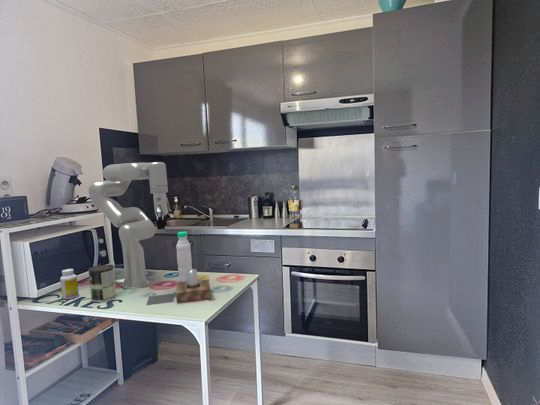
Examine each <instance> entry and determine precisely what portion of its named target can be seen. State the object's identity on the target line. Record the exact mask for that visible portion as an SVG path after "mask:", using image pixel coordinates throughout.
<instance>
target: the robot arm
mask: <svg viewBox="0 0 540 405" xmlns="http://www.w3.org/2000/svg"><path fill="white" fill-rule="evenodd" d="M102 176H103V178H104V179H105V180H98V181H94V182H92V183H90V185H89V186H88V195H89V198H90V200H91V203H93V205H94V206H95V207H96V208H97V209H98V210H100V211H101V212H102V213H103V214H104V215H105V217H106V218H107V220H109V222H111V224H112V225H113V226H114V227H116V228H117V229H118V228H119V229H118V236H119V240H120V243H121V248H122V258H123V266H124V278H122V279H121V278H119V279H116V280H115V284H118V285H121V284H122V289H123V290H134V289H135V290H136V289H141V288H146V287H148V286H150V284H151V282H150V280H148V279H147V274H146V262H145V251H144V247H143V246H142V245H141V243H140V241H142V240H147V239H151V238H152V237H154V235H156V234H155V232H156V228H157V230H164V229H166V226H167V225H168V224H167V215H168V213H169V210H168V201H167V194H166V193H168V192H169V190H168V176H167V166H166V163H164V162H162V161H155V162H154V161H153V162H126V163H115V164H113V163H112V164H109V165H106V166H105V167H104V168H103V170H102ZM137 180H138V181H139V180H149V191H150V195H151V194H153V207H154V214H155V216H156V228H155V225H154V223H153V222H152V220H151V219H150V218H149V217H148V216H147V215H146V213H145V212H143V210H142V209H140V208H139V207H136V206H131V207H122V206H121V204H119V202H118V201H117V200H115V199H113V198H111V197H118V196H119V197H120V196H123V195H124V194H125V193H126V191H127V189H128V187H129V185H130V184H131V182H132V181H137Z"/></svg>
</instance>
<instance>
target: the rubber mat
mask: <svg viewBox="0 0 540 405" xmlns="http://www.w3.org/2000/svg"><path fill="white" fill-rule="evenodd" d="M175 295H176V292H174V293H173V292H172V293H166V294H157V295H150V296H148V299H147V301H146V304H145V306H152V305H160V304H167V303H173V302H174V300H175Z"/></svg>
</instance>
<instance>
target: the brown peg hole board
mask: <svg viewBox="0 0 540 405" xmlns="http://www.w3.org/2000/svg"><path fill="white" fill-rule="evenodd" d="M211 294H212V293H211V284H210V279H209V278H208V279H200V280H198V287H196V288H189V286H188V282H177V285H176V292H175V295H176V296H175V298H176V304H177V305H178V304H183V303H191V302H199V301H206V300H208V301H209V302H210V301H212V295H211Z"/></svg>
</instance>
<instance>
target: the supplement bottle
mask: <svg viewBox="0 0 540 405" xmlns="http://www.w3.org/2000/svg"><path fill="white" fill-rule="evenodd" d="M74 271H75V270H74V269H73V268H67V269H62V270H61V274H62V275H61V277H60V278H59V279H60V289H61V298H62V299H63V300H72V299H75V298H77V297H79V295H80V294H79V293H80V292H79V287H78V286H79V285H78V278H77V275H76V274H75V273H74Z"/></svg>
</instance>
